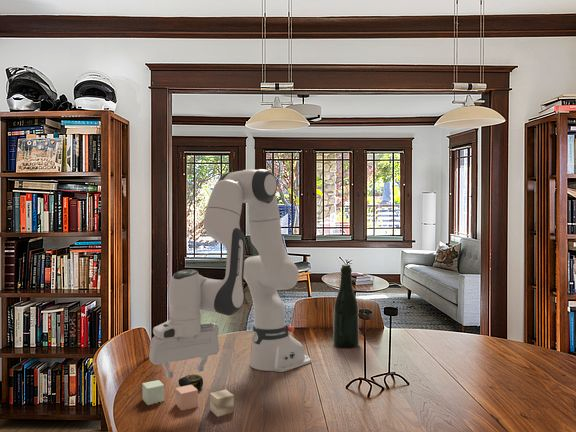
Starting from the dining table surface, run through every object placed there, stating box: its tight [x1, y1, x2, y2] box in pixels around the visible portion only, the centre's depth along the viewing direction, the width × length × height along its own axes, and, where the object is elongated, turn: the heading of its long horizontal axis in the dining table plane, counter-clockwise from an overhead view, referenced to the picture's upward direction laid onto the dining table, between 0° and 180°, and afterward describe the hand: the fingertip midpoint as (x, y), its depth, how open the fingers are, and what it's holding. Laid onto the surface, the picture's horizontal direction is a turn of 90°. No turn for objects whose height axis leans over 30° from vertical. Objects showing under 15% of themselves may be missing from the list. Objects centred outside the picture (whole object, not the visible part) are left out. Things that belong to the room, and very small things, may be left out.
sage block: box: [141, 379, 165, 406], centre depth 148 cm, size 5×5×5 cm
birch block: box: [209, 389, 235, 417], centre depth 141 cm, size 5×5×5 cm
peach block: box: [174, 385, 199, 412], centre depth 144 cm, size 5×5×5 cm
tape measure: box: [178, 374, 204, 391], centre depth 157 cm, size 7×7×4 cm
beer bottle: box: [332, 263, 360, 349], centre depth 202 cm, size 10×10×33 cm
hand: (185, 374), depth 144 cm, fingers open, 8 cm apart
